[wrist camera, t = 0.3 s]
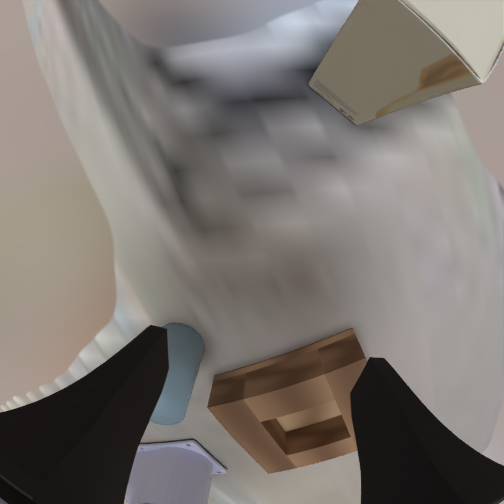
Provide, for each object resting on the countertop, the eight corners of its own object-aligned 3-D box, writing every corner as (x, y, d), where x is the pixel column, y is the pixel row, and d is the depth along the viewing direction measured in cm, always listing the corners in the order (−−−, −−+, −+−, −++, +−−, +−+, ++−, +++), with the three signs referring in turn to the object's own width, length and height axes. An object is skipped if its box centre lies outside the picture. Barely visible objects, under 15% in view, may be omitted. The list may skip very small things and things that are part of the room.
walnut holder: (268, 446, 26) (268, 473, 22) (214, 375, 23) (207, 407, 19) (376, 412, 24) (386, 439, 20) (352, 328, 21) (365, 357, 17)
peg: (173, 367, 23) (149, 427, 16) (148, 331, 22) (113, 387, 15) (213, 355, 22) (197, 420, 16) (188, 316, 21) (161, 377, 14)
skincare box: (357, 128, 17) (482, 96, 5) (304, 85, 16) (364, -19, 4) (405, 68, 15) (524, 12, 3) (358, 28, 14) (440, -70, 3)
